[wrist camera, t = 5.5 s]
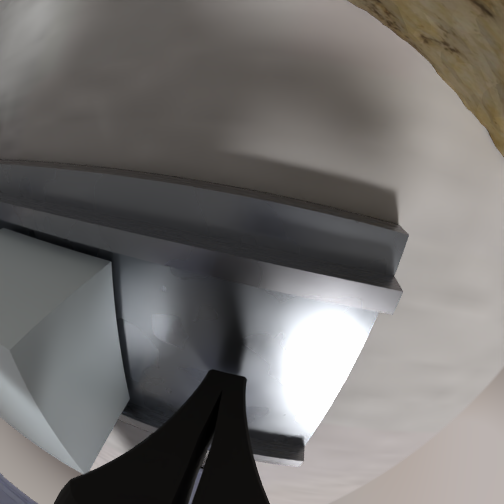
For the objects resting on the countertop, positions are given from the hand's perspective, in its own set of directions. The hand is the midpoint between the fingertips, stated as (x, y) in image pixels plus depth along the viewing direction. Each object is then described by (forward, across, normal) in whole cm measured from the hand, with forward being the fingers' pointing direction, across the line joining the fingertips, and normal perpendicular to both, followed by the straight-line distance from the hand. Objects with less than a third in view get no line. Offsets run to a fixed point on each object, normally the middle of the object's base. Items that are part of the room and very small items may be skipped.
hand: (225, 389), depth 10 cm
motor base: (+2, +8, 0) cm, 8 cm away
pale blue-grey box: (+1, +9, +1) cm, 9 cm away
